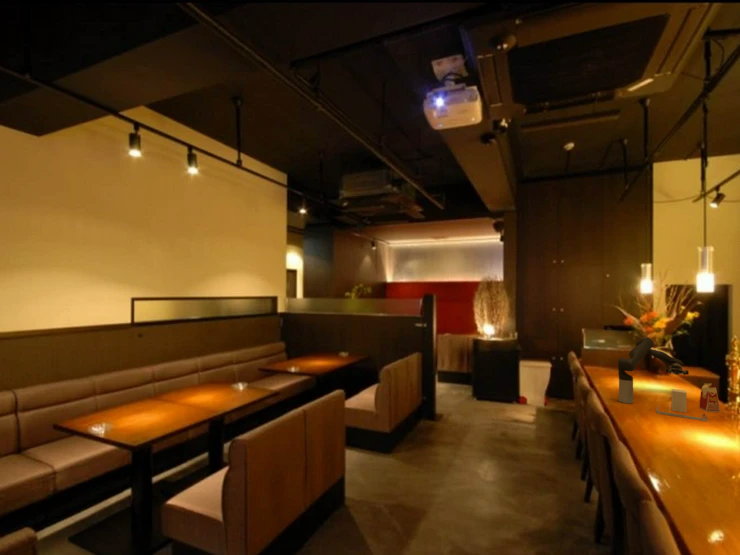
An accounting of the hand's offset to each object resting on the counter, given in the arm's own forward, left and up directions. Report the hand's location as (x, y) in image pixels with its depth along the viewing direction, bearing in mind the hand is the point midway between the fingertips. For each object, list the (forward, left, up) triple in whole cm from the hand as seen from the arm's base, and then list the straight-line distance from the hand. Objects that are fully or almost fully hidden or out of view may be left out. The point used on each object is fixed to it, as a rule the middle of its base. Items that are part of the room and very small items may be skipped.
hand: (677, 373), depth 299 cm
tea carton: (0, -22, -23) cm, 32 cm away
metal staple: (0, -34, -23) cm, 41 cm away
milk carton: (+18, -9, -23) cm, 30 cm away
